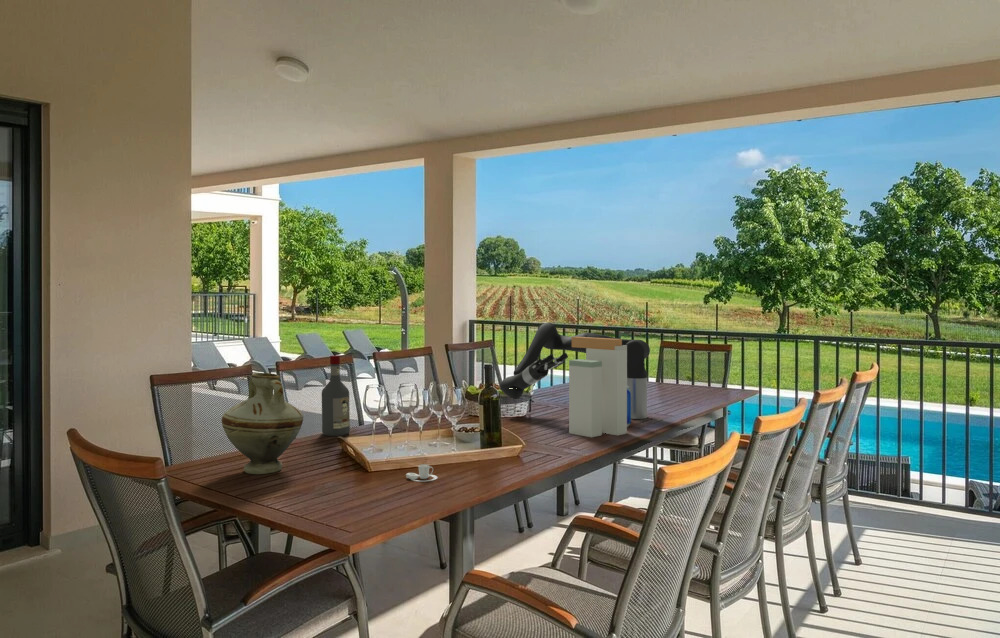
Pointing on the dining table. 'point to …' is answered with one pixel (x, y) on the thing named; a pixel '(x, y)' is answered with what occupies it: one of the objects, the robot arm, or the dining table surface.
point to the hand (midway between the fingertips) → (559, 355)
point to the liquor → (335, 403)
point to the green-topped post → (585, 397)
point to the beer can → (628, 406)
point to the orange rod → (596, 343)
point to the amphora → (263, 424)
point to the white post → (613, 388)
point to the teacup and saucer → (422, 473)
